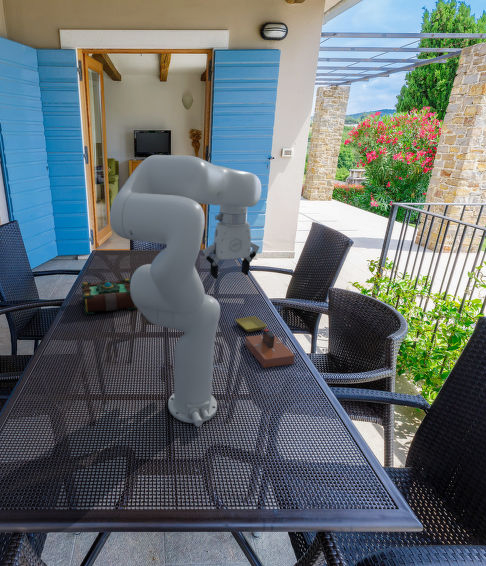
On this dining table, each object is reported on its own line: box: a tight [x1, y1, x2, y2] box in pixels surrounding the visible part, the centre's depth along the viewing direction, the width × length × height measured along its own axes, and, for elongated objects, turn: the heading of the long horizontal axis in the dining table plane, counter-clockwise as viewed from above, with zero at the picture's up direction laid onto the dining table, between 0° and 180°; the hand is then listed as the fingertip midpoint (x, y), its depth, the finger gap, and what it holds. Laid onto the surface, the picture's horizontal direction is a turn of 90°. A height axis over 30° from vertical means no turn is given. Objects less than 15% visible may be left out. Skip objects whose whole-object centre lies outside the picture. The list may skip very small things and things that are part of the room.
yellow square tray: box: [234, 315, 268, 333], centre depth 137 cm, size 9×9×2 cm
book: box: [81, 277, 138, 315], centre depth 156 cm, size 27×21×10 cm
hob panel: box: [244, 333, 296, 369], centre depth 121 cm, size 14×10×3 cm
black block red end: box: [262, 328, 276, 348], centre depth 120 cm, size 5×2×4 cm, turn 13°
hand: (229, 275), depth 111 cm, fingers open, 9 cm apart
